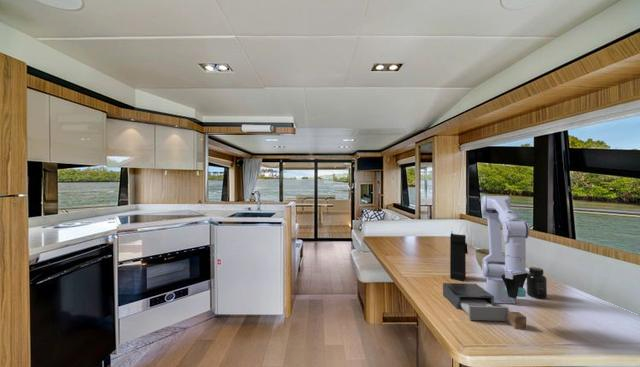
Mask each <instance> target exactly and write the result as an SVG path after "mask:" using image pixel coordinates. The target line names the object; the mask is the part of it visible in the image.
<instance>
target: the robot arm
mask: <svg viewBox="0 0 640 367" xmlns="http://www.w3.org/2000/svg"><path fill="white" fill-rule="evenodd" d="M480 200H481V201H480V202H481V203H480V206H481V214H482V216H483V215H484V216H485V217H486V219H487V220H486V221H487V232H488V235H487V236H488V249H489V253H490V254H489V255H487V256H485V257H484V258H483V260H482V270H481V272H482V274H483V277H486V291H487V292H488V293H490V294H491V295H493V296H494V304H517V302H516V301H515V300H516V299H517V294H518V289H519V287H522V288H524V284H525V282H526V281H527V277H528V275H529V273H528V272H527V269H526V256H527V255H526V252H527V251H526V245H527V244H526V241H527V239H528V238H529V235H530V227H529V224H528V222H527V221H525V220H521V219H520V218H519V216H518V215H517V213H516V212H515V211H513V210H512V209H511V206H512V205H511V204H512V203H511V202H512V201H511V198H510V196H508V195H484V194H483V195H482V197H481V199H480ZM501 226H502V229H501ZM501 230H502V231H501ZM502 235H503V241H504V252H505V257H504V256H503V254H502V252H503V244H502V243H503V241H502ZM489 261H496V262H503V263H494V262H489ZM505 286H506V289H507V293H508V294H507V293H506V292H505Z"/></svg>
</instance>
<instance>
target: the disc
mask: <svg viewBox="0 0 640 367" xmlns="http://www.w3.org/2000/svg"><path fill="white" fill-rule="evenodd" d="M505 292H506V293H507V289H506V286H505ZM507 294H508V293H507ZM526 295H527V289H526V288H524V287H523V288H522V287H519V289H518V294H517V297H519V298H526Z"/></svg>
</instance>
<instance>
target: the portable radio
mask: <svg viewBox="0 0 640 367" xmlns="http://www.w3.org/2000/svg"><path fill="white" fill-rule="evenodd" d="M449 237H450V240H449V241H450V244H449V245H450V249H449V250H450V251H449V252H450V253H449V267H450V268H449V270H450V271H449V272H450V273H449V274H450V276H449V278H450V279H452V280H457V281H460V282H461V281H462V282H465V281H466V278H467V277H466V274H467V273H466V272H467V271H466V268H467V267H466V266H467V262H466V261H467V260H466V259H467V258H466V255H468V253H469V252H468V243H467V239H466V238H467V236H466V235H465V234H459V233H458V234H457V233H453V232H451V233H450V235H449Z"/></svg>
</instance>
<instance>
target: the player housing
mask: <svg viewBox="0 0 640 367" xmlns="http://www.w3.org/2000/svg"><path fill="white" fill-rule="evenodd" d="M442 295H443V297H444V298H445V299H447V301H448V302H449V303H450V304H451V305H452V306H453V307H454V308H456V309H457V310H464V309H463V308H462V307H461V306H459V299H485V300H486V301H487V302H489V303H490V304H491V305H492V306H495V303H494V296H493V295H491V294H490V293H488V292H487V290H485V289H484V288H482V287H481V286H480V285H478V284H477V283H463V282H462V283H453V282H443V283H442Z"/></svg>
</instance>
